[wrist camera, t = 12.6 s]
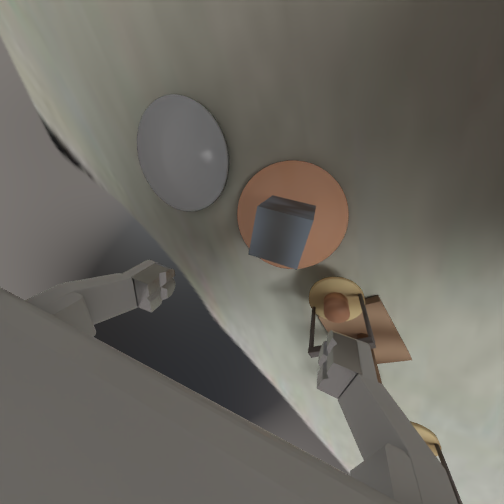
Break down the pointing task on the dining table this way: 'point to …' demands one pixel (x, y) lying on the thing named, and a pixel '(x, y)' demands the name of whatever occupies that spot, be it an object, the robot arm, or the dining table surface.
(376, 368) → the balance
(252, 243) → the block
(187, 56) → the dining table surface
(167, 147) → the grey dish
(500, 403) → the dining table surface
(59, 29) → the dining table surface
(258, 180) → the terracotta dish
